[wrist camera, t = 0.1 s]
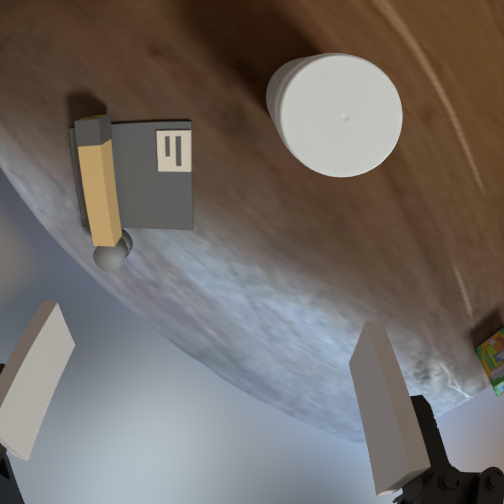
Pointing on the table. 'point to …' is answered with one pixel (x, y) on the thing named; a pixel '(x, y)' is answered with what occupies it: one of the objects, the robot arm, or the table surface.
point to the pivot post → (127, 240)
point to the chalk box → (493, 360)
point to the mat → (143, 179)
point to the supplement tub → (335, 112)
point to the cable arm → (100, 190)
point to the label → (174, 150)
